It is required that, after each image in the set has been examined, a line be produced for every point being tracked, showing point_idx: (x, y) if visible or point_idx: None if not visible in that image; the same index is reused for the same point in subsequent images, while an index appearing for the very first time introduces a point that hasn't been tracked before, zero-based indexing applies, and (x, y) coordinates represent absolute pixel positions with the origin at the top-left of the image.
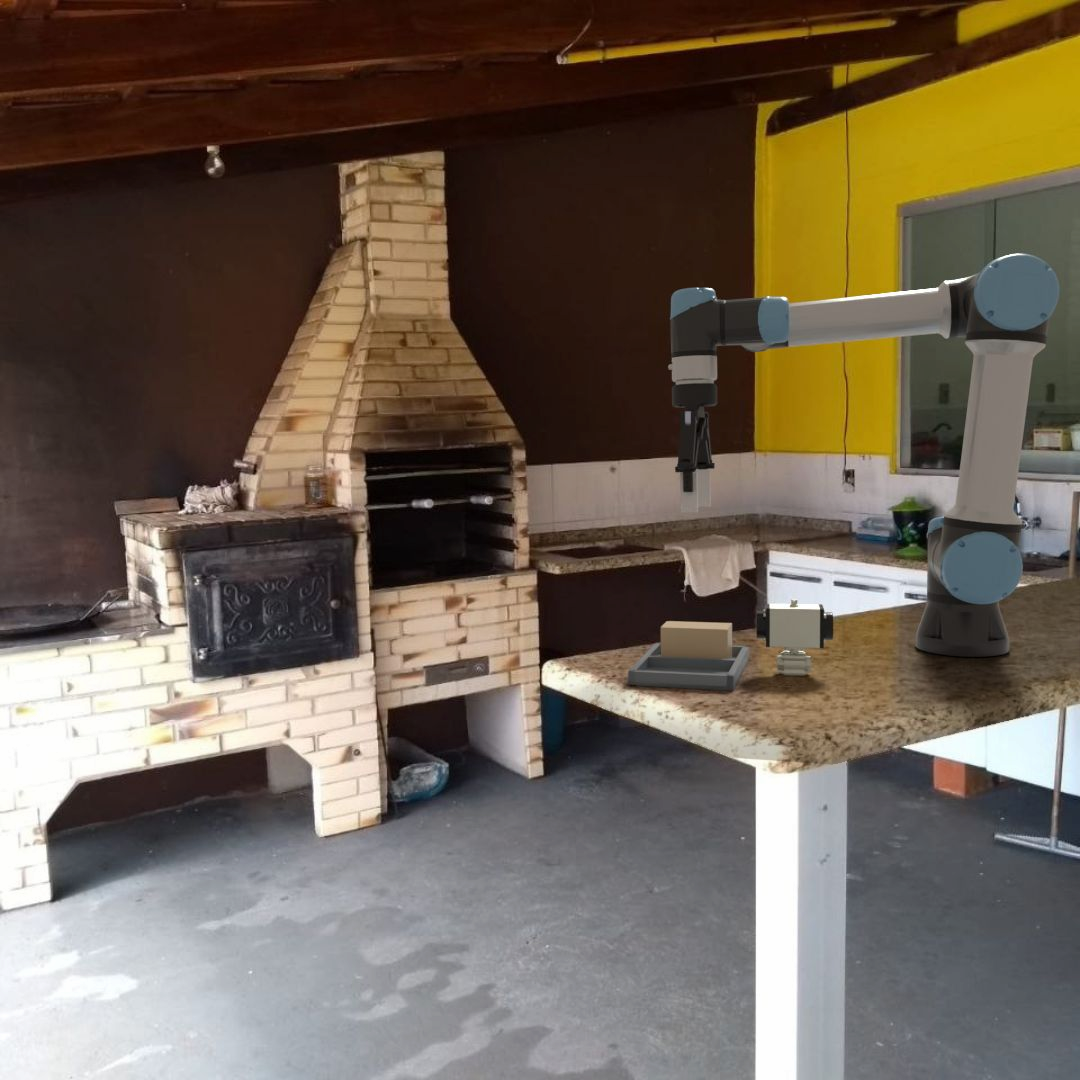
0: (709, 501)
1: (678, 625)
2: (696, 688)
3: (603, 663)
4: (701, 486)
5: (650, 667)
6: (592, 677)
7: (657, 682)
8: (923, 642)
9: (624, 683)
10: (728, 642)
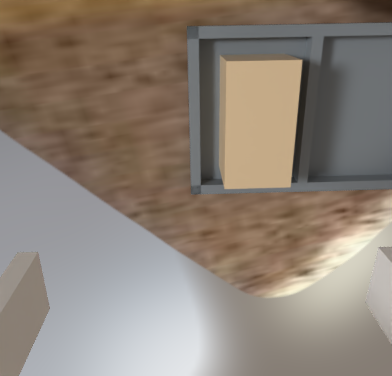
0: (30, 269)
1: (268, 160)
2: None
3: (263, 241)
4: (5, 359)
5: (309, 172)
6: (352, 234)
7: None
8: None
9: None
10: (283, 57)
